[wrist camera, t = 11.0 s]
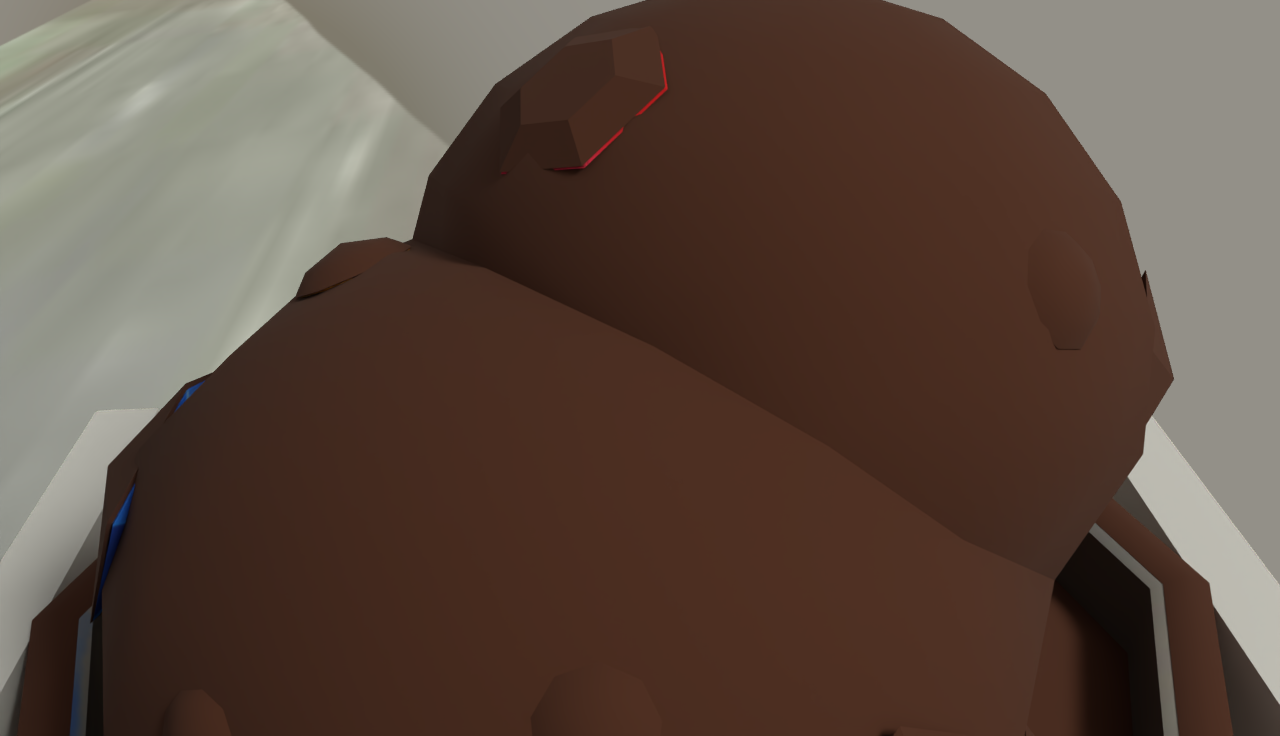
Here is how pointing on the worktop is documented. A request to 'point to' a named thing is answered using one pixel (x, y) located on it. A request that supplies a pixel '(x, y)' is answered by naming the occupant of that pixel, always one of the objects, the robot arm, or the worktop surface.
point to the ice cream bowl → (675, 428)
